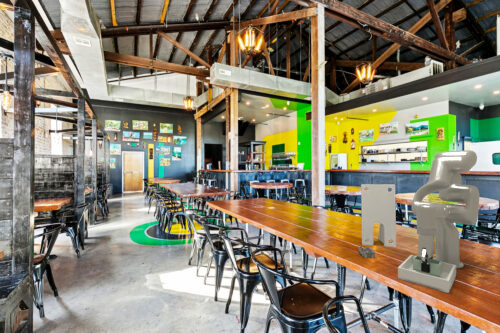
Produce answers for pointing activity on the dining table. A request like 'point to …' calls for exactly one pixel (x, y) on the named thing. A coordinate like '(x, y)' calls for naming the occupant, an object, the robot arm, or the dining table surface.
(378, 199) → the notched grey plate
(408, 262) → the light grey tray
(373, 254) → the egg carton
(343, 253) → the dining table surface
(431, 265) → the small crate
